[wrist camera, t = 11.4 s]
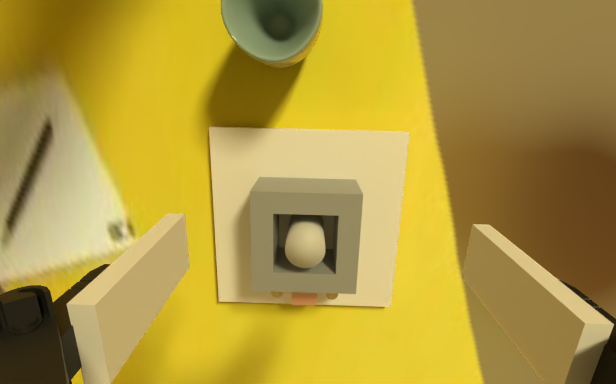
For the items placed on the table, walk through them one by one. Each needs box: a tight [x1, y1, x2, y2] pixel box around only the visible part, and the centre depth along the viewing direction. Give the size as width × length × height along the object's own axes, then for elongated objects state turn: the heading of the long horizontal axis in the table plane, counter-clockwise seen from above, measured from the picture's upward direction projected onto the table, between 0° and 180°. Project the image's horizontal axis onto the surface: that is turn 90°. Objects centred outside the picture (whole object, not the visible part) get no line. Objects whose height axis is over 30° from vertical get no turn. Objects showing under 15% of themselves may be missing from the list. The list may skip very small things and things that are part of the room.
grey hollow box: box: [250, 177, 363, 306], centre depth 37 cm, size 15×11×6 cm
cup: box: [221, 0, 323, 68], centre depth 30 cm, size 8×8×10 cm
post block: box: [209, 126, 410, 307], centre depth 37 cm, size 22×22×8 cm
